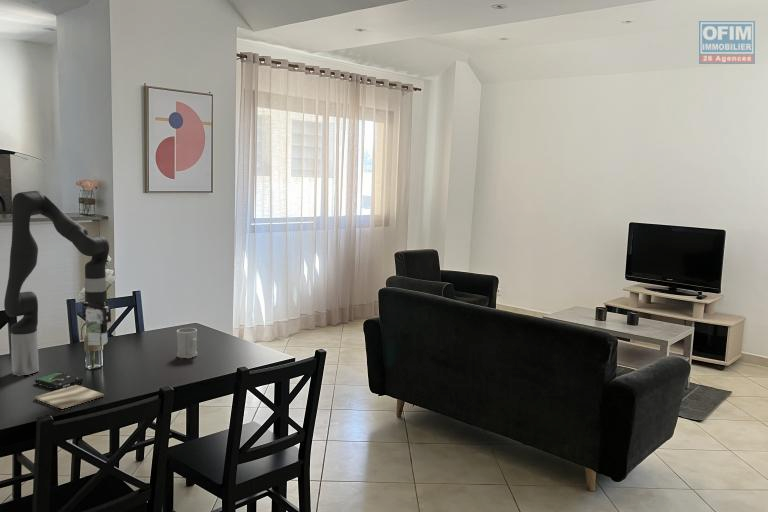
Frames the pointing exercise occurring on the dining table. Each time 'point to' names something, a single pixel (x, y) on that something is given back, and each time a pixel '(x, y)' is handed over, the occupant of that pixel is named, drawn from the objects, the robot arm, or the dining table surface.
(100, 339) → the syrup box
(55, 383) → the disk drive
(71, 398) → the birch board
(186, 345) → the cup
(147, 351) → the dining table surface
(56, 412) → the dining table surface
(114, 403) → the dining table surface
